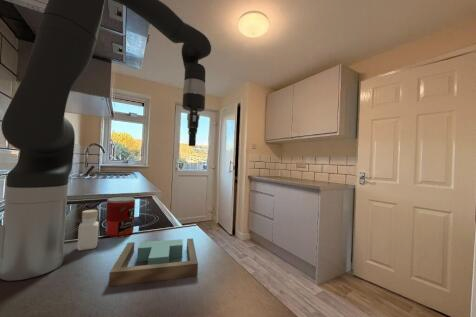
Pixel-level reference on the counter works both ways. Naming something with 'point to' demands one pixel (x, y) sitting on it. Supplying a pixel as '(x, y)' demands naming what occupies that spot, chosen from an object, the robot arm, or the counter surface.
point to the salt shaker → (88, 230)
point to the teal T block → (159, 251)
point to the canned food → (120, 216)
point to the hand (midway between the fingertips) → (191, 145)
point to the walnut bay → (152, 268)
